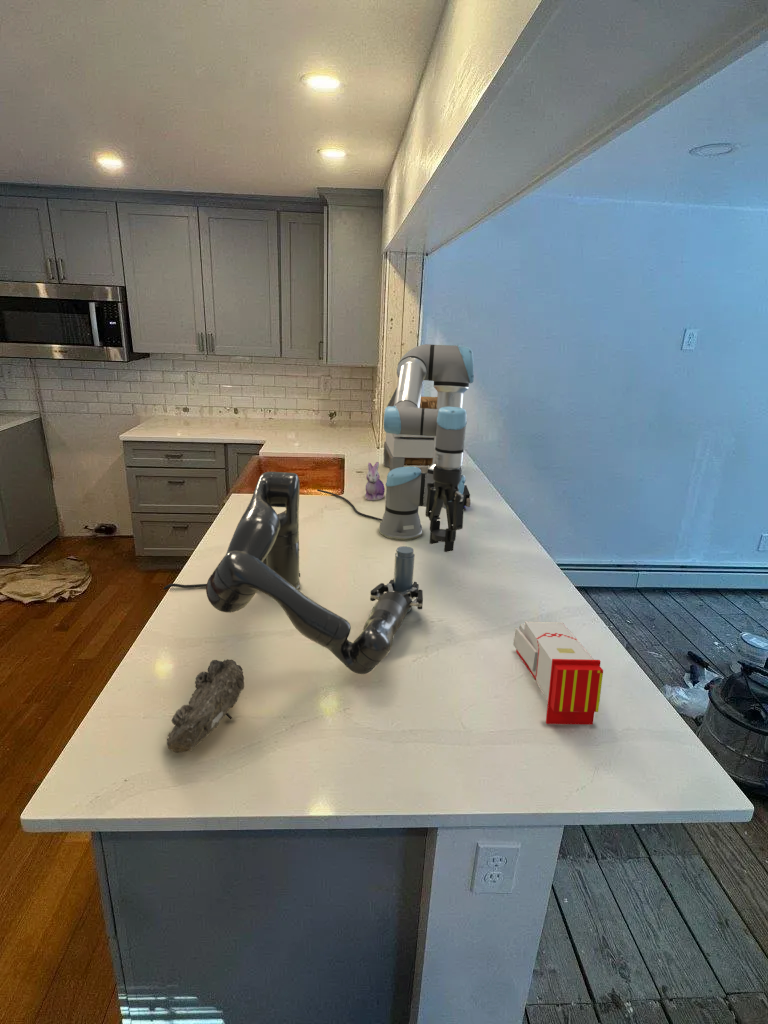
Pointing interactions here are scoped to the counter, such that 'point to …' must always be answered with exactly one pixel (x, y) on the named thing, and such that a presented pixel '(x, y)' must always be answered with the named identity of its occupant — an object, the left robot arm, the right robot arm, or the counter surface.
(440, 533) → the lid
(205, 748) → the counter surface
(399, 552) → the jar
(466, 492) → the figurine character
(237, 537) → the left robot arm
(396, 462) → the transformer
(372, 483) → the figurine
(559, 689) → the toy
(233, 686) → the fossil
